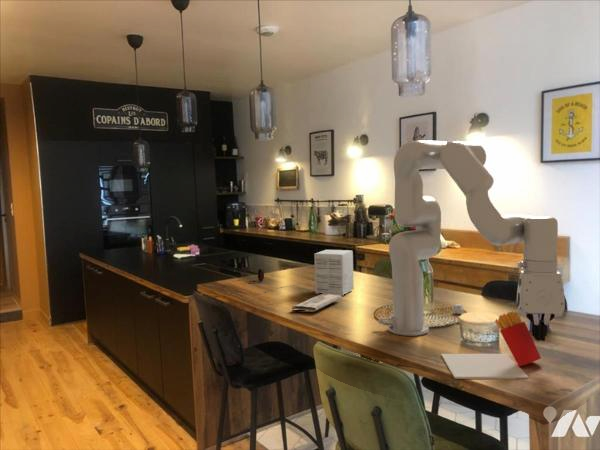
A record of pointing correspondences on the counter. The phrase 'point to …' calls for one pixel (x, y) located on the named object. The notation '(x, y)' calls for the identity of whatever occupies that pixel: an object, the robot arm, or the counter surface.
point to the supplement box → (334, 272)
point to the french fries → (518, 338)
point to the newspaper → (317, 302)
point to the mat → (483, 366)
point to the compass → (260, 277)
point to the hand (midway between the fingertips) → (539, 339)
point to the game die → (457, 309)
